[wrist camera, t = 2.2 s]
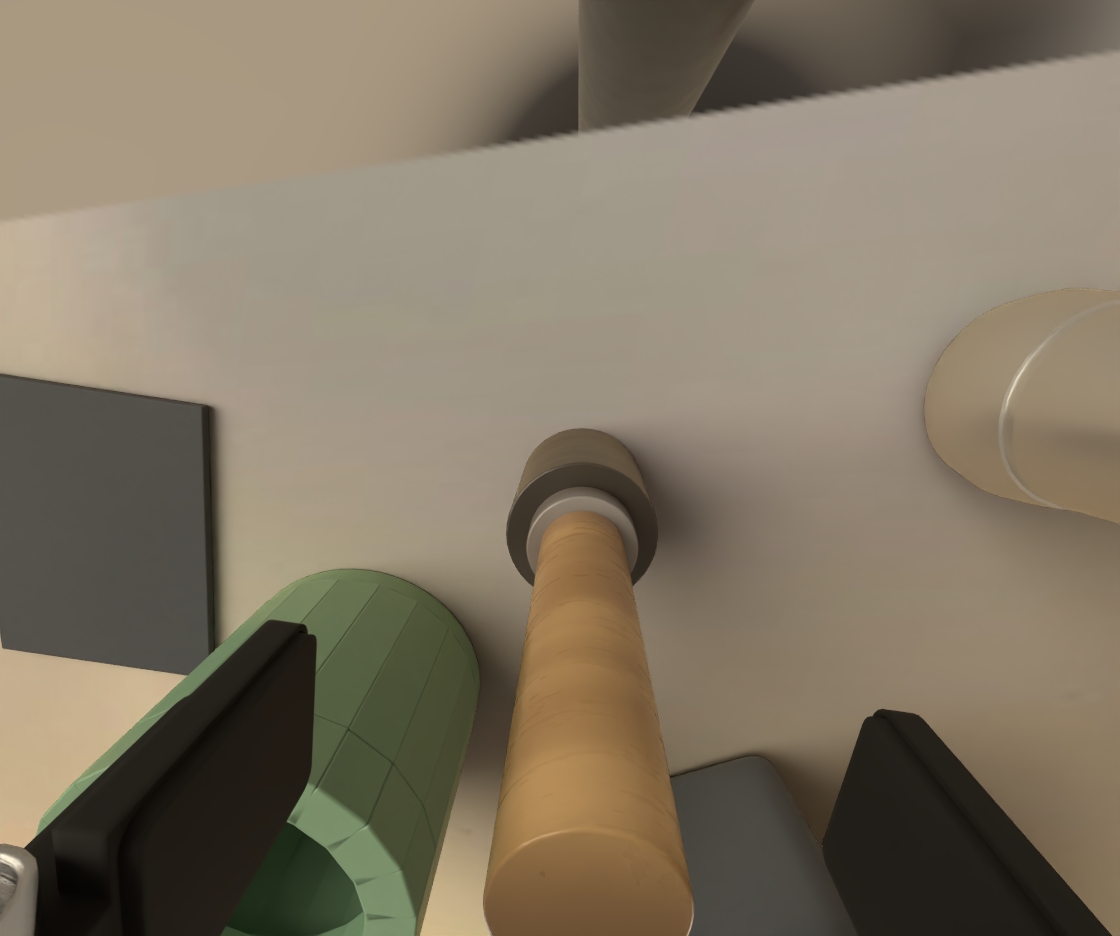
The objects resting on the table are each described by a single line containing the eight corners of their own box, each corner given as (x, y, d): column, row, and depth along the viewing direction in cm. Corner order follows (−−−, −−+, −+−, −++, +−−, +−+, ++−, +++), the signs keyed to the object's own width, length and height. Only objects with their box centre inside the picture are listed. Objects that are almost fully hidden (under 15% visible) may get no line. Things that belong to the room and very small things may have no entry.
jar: (246, 551, 23) (5, 725, 13) (492, 588, 23) (431, 787, 13) (247, 753, 26) (49, 1019, 16) (467, 785, 26) (401, 1068, 16)
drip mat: (-28, 369, 21) (-39, 370, 21) (208, 404, 21) (201, 406, 21) (10, 643, 24) (1, 648, 24) (215, 673, 25) (209, 679, 24)
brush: (530, 419, 21) (399, 715, 6) (650, 438, 21) (846, 779, 6) (515, 532, 22) (374, 1024, 7) (629, 549, 22) (741, 1076, 7)
